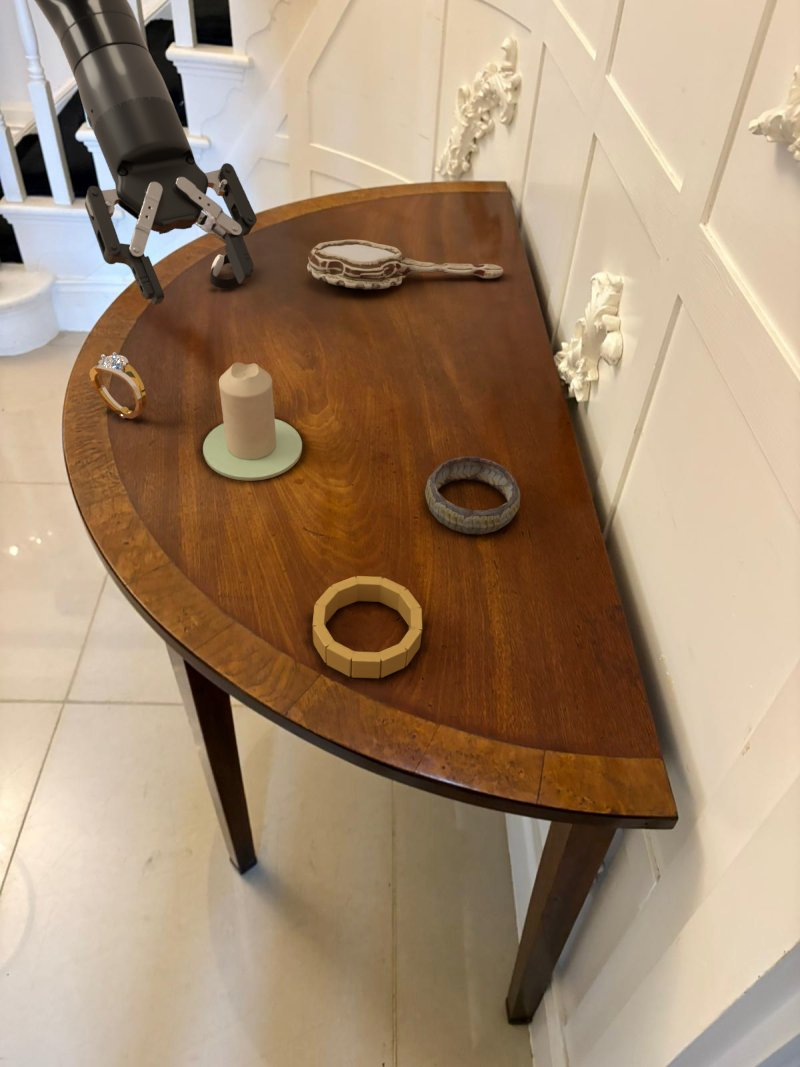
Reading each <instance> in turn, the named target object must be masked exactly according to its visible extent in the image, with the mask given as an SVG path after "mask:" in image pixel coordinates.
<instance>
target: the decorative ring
mask: <svg viewBox="0 0 800 1067" xmlns="http://www.w3.org/2000/svg"><path fill="white" fill-rule="evenodd" d="M459 481H475V482H479V483H483V484H486V485H488V486H490V487H492V488H494V489H496V490H497V491H498V492H499V493H501V495H502V496H503V497H504V498H505V500H506V501H507V502H505V503H503V504H502V505H500V506H498V507H495V508H490V509H486V510H485V509H484V510H481V509H480V510H479V509H469V508H465V507H461V506H457V505H456V504H454V503H452V502H451V501H448V500H447V499H445V498H444V496H443V495H442V494H441V493H440V491H439V489H440V488H442V487H444V486H446V485H448V484H450V483H453V482H459ZM424 496H425V500H426V503H427V507H428V510H429V512H430V513H431V514H432V516H433V517H434V518H435V519H436V520H437V521H438V523H440V524H442V525H443V526H445V527H446V528H449V530H452V531H455V532H458V533H462V534H465V535H485V534H489V533H495V532H498V531H499V530H500V529H502V528H503V527H505V526H507V525H508V524H510V523H511V521H512V520H513V518H514V517H515V515H516V514H517V513H518V511H519V509H520V504H521V490H520V487H519V486H518V483H517V480H516V478H515V477H514V475H513V474H512V473H511V472H510V471H509V470H508V469H507V468H506V467H505V466H503V465H501V464H499V463H497V462H495V461H494V460H490V459H487V458H483V457H479V456H460V457H455V458H450V459H448V460H446V461H445V462H443V463H441V464H439V465H438V466H437V467H436V468H435V470H433V472H432V473H431V474H430V476H428V479H427V481H426V485H425V490H424Z"/></svg>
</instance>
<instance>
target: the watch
mask: <svg viewBox="0 0 800 1067" xmlns="http://www.w3.org/2000/svg"><path fill="white" fill-rule="evenodd" d="M227 264H230V261H229V259H228V256H227V254H225V255H222V254H217V256H216V257H215V258H214V260H213V262H212V265H211V268H210V283H211V285H213V286H214V287H216V288H218V289H231V288H233V287H236V286H238V285H240V284H239V283H238V281H237V279H236V276H234V277H231V278H221V277H218V276H219V275H220V273H221V271H222V269H223V266H225V265H227Z"/></svg>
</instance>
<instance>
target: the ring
mask: <svg viewBox="0 0 800 1067" xmlns="http://www.w3.org/2000/svg"><path fill="white" fill-rule="evenodd" d="M100 357H101V359H100V360H98V361H97V362H96V364H95V365H94V366H93V367H92V368H91V369H90V370H89V372H88V374H89V379H90V381H91V383H92V385H93V387H94V389H95V391H96V392H97V394H98V395H99V397H100V399H102V401H103V402H104V403H105V404H106V405H107V406H108V407H109V408H110V409H111V410H112V411H113V412H114V413H116V414H117V415H118V416H119V417H120V418H121V419H129V420H130V419H134V418H136V417H138V416H140V415H141V414H142V413H143V412H144V411H145V408H146V405H147V394H146V390H145V386H144V383H143V381H142V378H141V376H140V375H139V374H138V372H137V371H136V369H134V367H133V366H132V365H130V364H129V360H128V358H127V357H126V356H124V355H121V354H117V352H116V351H114V352H112V355H107V356H106V354H104V353H102V354H101V355H100ZM104 372H105V373H109V374H111V375H114V376H116V377H118V378H120V379H121V380H122V381H123V382H124V383H126V385H127V386H128V387H129V389H130V391H131V392H132V394H133V397H134V400H135V408H134V410H130V409H129V408H128V407H127V406H122V405H120V404H119V402H117V401H116V400H115V399H114V398H113V396H112V395H111V394H110V393H109V391H108V390H107V388H106V386H105V383H104V381H103V380H104V379H103V373H104Z"/></svg>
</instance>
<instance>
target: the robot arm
mask: <svg viewBox="0 0 800 1067" xmlns="http://www.w3.org/2000/svg"><path fill="white" fill-rule="evenodd" d="M34 2H35V4H36V5H37V7H38V8H39V10H40V11H41V13H42V14H43V15H44V18H45V19H46V20H47V22H48V23H49V25H50V27H51V28H52V30H53V32H54V33H55V35H56V37H57V39H58V42H59V43H60V46H61V48H62V51H63V53H64V56H65V58H66V60H67V63H68V65H69V68H70V70H71V73H72V75H73V77H74V81H75V83H76V86H77V89H78V93H79V97H80V100H81V101H80V102H81V104H82V107H83V110H84V112H85V114H86V120H87V123H88V125H89V127H90V128H91V130H92V131H93V134H94V136H95V139H96V141H97V143H98V146H99V149H100V151H101V153H102V156H103V158H104V160H105V163H106V164H107V168H108V171H109V172H110V173H109V174H110V175H111V177H112V180H113V182H114V186H115V188H114V189H112V188H111V189H104V190H102V189H101V188H100V187H98V186H96V185H91V186H89V187H88V188H87V191H86V196H85V201H84V207H85V209H86V212H87V215H88V218H89V221H90V224H91V227H92V229H93V232H94V235H95V238H96V241H97V244H98V246H99V249H100V253H101V255H102V259H103V261H104V262H105V263H107V264H108V265H116V263H117V264H123V265H126V266H127V267H129V269H130V271H131V272H132V275H133V277H134V280H135V282H136V285H137V287H138V289H139V292H140V295H141V296H142V297H143V298H144V299H145V301H148V300H150V301H151V304H152V305H153V306H155V305H159V304H162V303H163V301H164V299H165V293H164V291H163V287H162V285H161V283H160V280H159V278H158V276H157V273H156V271H155V268H154V265H153V263H152V261H151V259H150V257H149V255H145V250H146V247H147V243H148V240H149V236H150V234H151V231H152V232H156V233H158V234H159V235H163V234H168V233H170V232H172V231H173V230H187V229H191V228H192V227H193V226H194V225H195V226H197V227H198V228H199V229H201V230H202V231H203V232H205V233H207V234H211V235H213V236H214V237H216V238H217V239H219V241H221V242H223V244H225V246H224V251H225V253H226V254H227V256H228V259H229V261H230V263H229V264H230V266H231V269H232V271H233V274H234V277H236V279H237V281H238V283H239V284H238V285H241V284H245V283H248V282H249V280H250V279H251V277H252V272H254V262H253V260H252V258H251V255H250V252H249V250H248V248H247V244H246V242H245V240H244V236H248V235H249V233H250V232H251V231H252V229H253V227H254V226H255V225H256V223H257V220H258V219H257V218H258V217H257V216H256V214H255V211H254V208H253V207H252V205H251V203H250V201H249V198H248V196H247V194H246V192H245V189H244V187H243V185H242V182H241V180H240V178H239V176H238V174H237V171H236V170H235V168H234V165H232V164H231V163H228V162H225V163H223V164H222V166H221V167H220V168H219V169H215V170H213V171H208V172H204V171H203V169H201V168H200V167H199V166H198V163H197V162H196V159H195V155H194V153H193V150H192V147H191V144H190V142H189V140H188V137H187V134H186V132H185V130H184V127H183V125H182V122H181V120H180V117H179V114H178V112H177V110H176V108H175V105H174V102H173V100H172V97H171V95H170V93H169V89H168V87H167V85H166V83H165V80H164V78H163V75H162V74H161V72H160V70H159V68H158V67H157V64H156V63H155V61H154V59H153V57H152V55H151V52H150V50H149V48H148V45H147V44H146V40H145V37H144V35H143V33H142V31H141V28H140V24H139V22H138V20H137V17H136V15H135V13H134V10H133V8H132V6H131V4H130V2H129V1H128V0H34ZM208 188H210V189H212V190H213V191H214V193H215V194H216V195H217V196H218V197H221V198H222V199H223V201H224V203H225V206H226V209H227V210H228V213H229V214H230V216H229V215H228V214H227V213H226V212H224V209H223V208H222V206H220V205H219V203H217V202H216V201H214V200H213V199H212V198H210V197H209V196H208V195H207V191H208ZM116 205H118V206H119V207H120V208H121V209H122V210H124V211H125V212H126V213H127V214H129V215H130V216H132V217H133V218H134V219H136V223H135V227H134V229H133V233H132V238H131V240H130V243H121V242H120V239H119V236H118V233H117V231H116V228H115V225H114V222H113V220H112V217H113V216H114V212H115V208H116V207H115V206H116ZM226 254H225V255H226Z"/></svg>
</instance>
